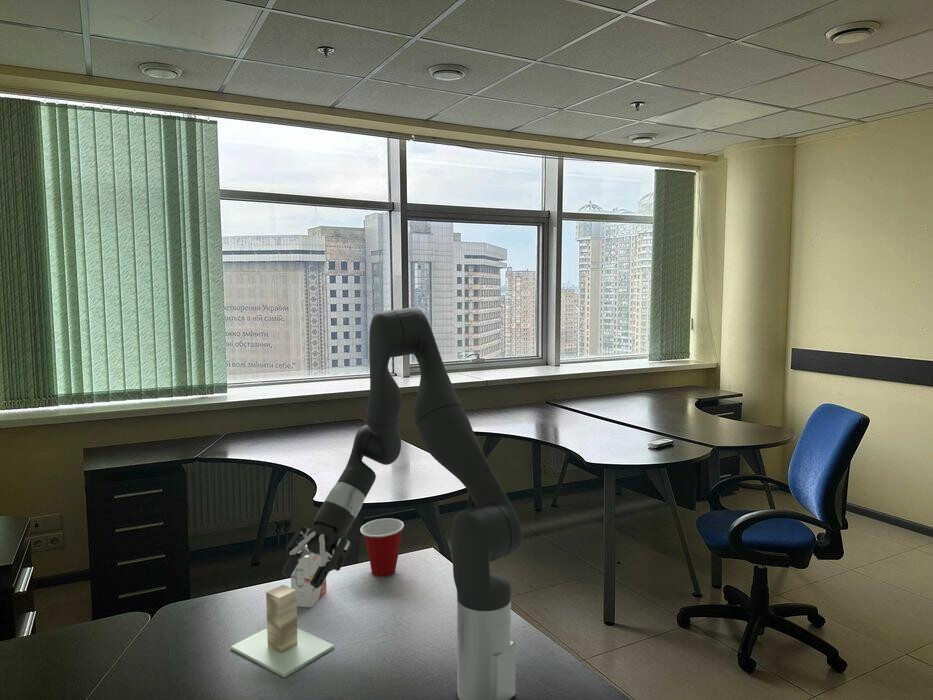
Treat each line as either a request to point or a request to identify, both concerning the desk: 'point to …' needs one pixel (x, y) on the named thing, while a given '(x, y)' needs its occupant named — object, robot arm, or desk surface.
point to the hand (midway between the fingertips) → (299, 580)
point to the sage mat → (287, 660)
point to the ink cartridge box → (307, 580)
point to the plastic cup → (383, 544)
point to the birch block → (281, 618)
